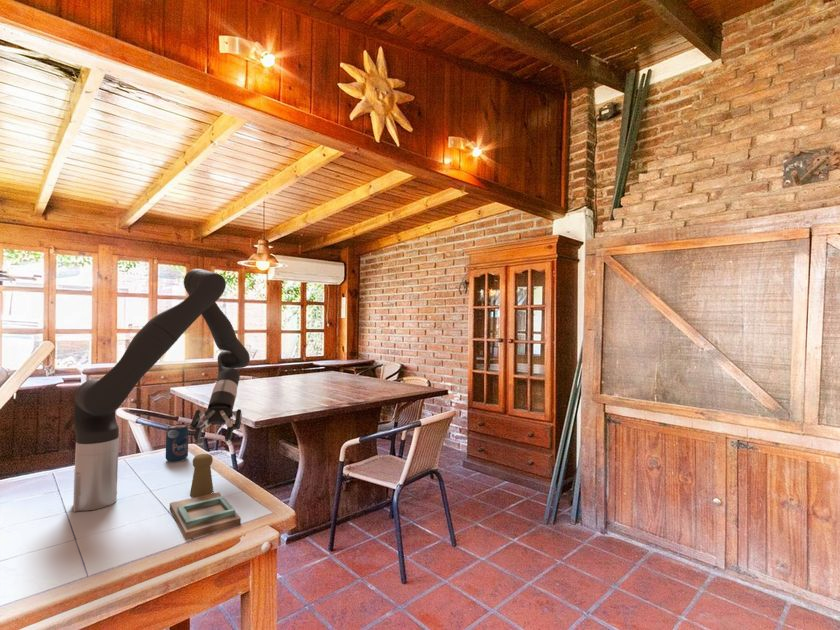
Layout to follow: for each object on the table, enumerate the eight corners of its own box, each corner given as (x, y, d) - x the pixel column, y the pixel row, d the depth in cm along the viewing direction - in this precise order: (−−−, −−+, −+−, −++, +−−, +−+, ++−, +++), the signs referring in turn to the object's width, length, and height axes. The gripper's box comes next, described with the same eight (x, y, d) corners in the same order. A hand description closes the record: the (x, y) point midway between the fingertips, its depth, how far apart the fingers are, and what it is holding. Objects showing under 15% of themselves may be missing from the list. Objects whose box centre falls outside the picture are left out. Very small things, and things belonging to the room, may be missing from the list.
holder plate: (185, 539, 97) (186, 527, 97) (169, 508, 112) (170, 498, 112) (240, 524, 104) (240, 513, 104) (218, 497, 120) (218, 487, 120)
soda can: (175, 464, 146) (176, 429, 147) (160, 461, 149) (161, 427, 149) (192, 458, 153) (193, 424, 153) (178, 455, 155) (179, 422, 156)
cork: (206, 497, 119) (207, 458, 119) (185, 497, 119) (186, 457, 120) (217, 489, 125) (218, 451, 126) (196, 488, 125) (198, 451, 126)
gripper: (198, 390, 138) (183, 434, 127) (244, 389, 141) (234, 433, 129) (203, 403, 144) (189, 447, 132) (247, 402, 146) (238, 446, 134)
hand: (211, 440), depth 131 cm, fingers open, 8 cm apart
